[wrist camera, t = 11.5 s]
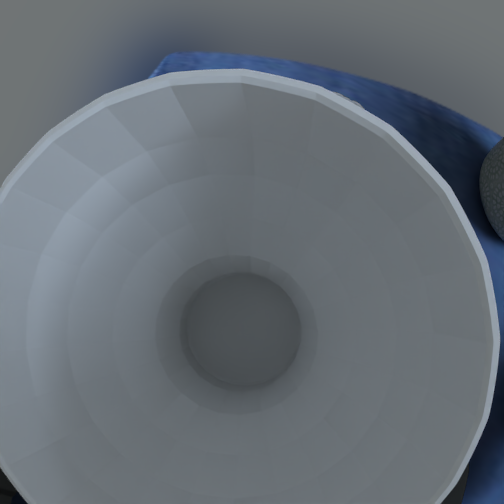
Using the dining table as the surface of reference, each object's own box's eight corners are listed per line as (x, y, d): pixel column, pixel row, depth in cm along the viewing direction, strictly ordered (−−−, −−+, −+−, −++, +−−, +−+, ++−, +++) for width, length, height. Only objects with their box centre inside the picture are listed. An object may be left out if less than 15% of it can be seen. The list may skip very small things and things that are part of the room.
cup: (321, 238, 19) (442, 59, 4) (333, 401, 17) (468, 552, 2) (158, 250, 19) (-18, 124, 4) (169, 409, 17) (14, 539, 2)
